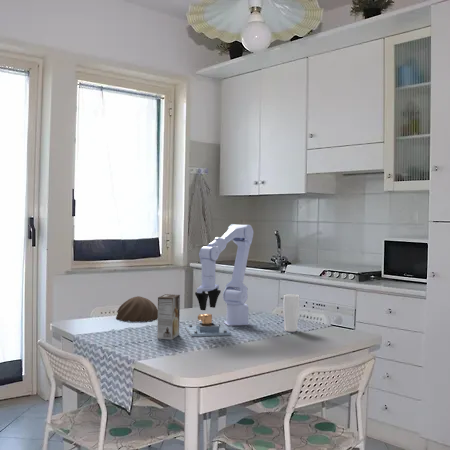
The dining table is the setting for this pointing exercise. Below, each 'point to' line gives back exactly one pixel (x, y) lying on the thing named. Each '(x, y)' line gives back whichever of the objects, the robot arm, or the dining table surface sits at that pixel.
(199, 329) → the flange plate
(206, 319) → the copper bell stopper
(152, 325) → the dining table surface
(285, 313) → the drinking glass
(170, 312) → the coffee box
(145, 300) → the decorative dome
